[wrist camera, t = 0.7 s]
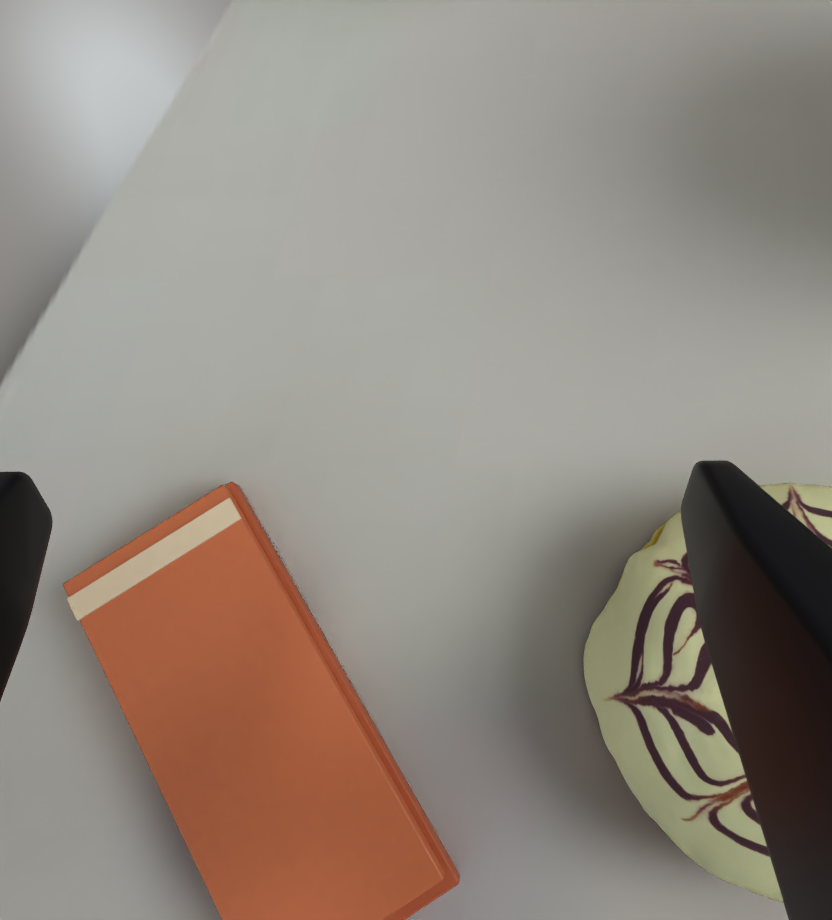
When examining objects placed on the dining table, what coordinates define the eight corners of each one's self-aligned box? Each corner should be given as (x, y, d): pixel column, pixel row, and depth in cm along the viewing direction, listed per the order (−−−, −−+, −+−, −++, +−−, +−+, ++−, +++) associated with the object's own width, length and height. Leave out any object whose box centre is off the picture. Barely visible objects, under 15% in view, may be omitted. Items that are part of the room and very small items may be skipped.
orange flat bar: (460, 875, 21) (459, 892, 20) (274, 999, 21) (260, 1024, 19) (238, 484, 24) (224, 476, 23) (76, 585, 24) (52, 583, 23)
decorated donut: (511, 674, 22) (517, 682, 19) (740, 436, 23) (787, 399, 20) (785, 954, 20) (853, 1028, 16) (1025, 674, 21) (1140, 683, 17)
